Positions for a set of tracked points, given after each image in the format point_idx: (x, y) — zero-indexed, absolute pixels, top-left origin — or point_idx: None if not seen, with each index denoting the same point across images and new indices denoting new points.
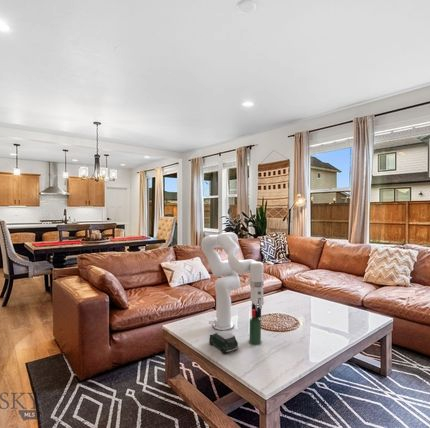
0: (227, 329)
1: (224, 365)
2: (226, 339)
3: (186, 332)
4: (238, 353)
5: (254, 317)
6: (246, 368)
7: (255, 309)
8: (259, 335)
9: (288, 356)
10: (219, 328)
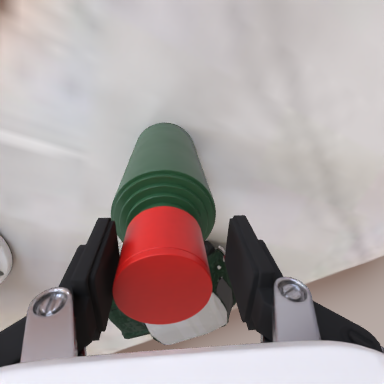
0: (6, 243)
1: None
2: (227, 318)
3: None
4: None
5: None
6: (338, 239)
7: (150, 290)
8: (195, 151)
9: (369, 37)
10: (5, 277)
